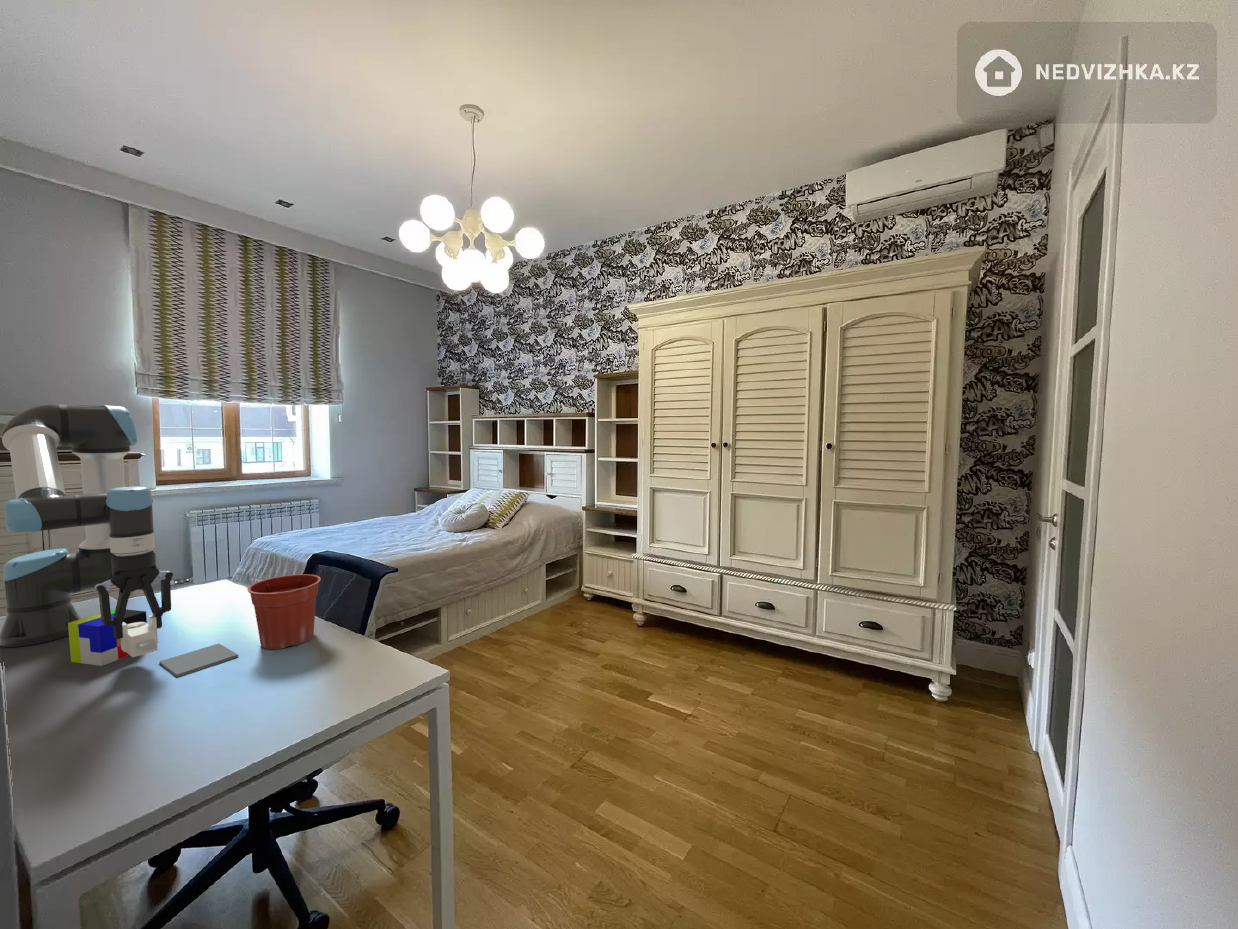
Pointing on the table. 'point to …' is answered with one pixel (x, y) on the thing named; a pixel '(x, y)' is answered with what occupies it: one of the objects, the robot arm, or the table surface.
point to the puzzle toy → (98, 639)
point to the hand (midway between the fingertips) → (139, 645)
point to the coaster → (198, 659)
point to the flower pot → (285, 609)
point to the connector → (141, 639)
